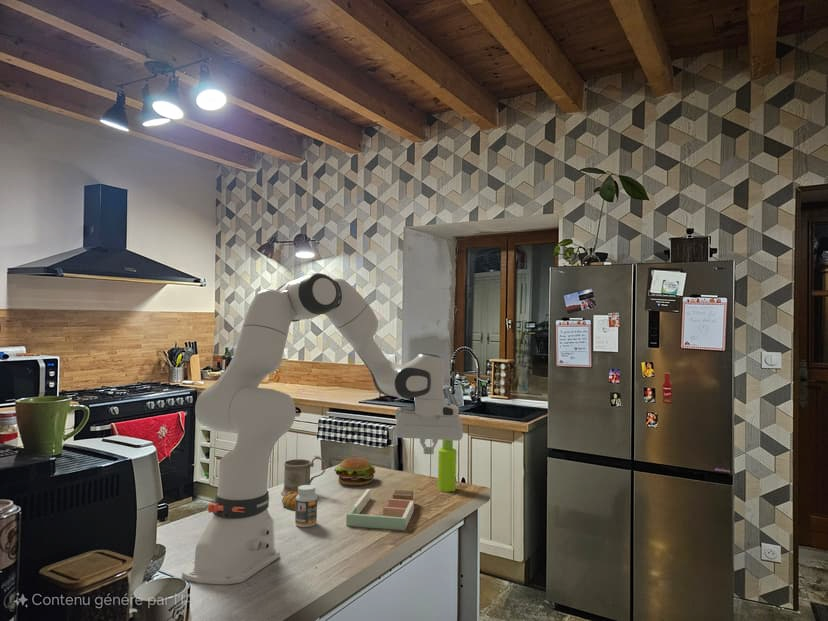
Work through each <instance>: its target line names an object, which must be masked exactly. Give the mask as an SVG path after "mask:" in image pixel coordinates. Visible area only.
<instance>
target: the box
mask: <svg viewBox="0 0 828 621" xmlns="http://www.w3.org/2000/svg"><path fill="white" fill-rule="evenodd" d="M370 500H371V489H370V488H366V490H365V491H364V492H363V494H362V495H361V496H360V497H359V499H358V500H357V501H356V502H355V503H354V505H352V508H350V509H349V511H348V512H347V514H346V518H345V519H346V522H345V523H346V526H347V527H359V528H369V529H370V528H371V529H372V528H373V529H383V530H396V531H405V530H406V528H407V527H408V524H409V523H410V520H411V519H412V515H413V514H414V511H415V499H413V500H402V499H393V498H388V505H387V506H384V507H383V508H382V515H374V514H362V513H361V512H362V510H363V509H364V508H365V507H366V505H367V504H368V503H369V501H370Z"/></svg>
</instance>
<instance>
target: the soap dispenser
mask: <svg viewBox="0 0 828 621" xmlns="http://www.w3.org/2000/svg"><path fill="white" fill-rule="evenodd" d="M453 441H454V440H442V445H441V446H442V447H441V448H438V456H437V458H438V462H437V463H438V465H437V490H438V491H439V492H442V491H444V493H452V492H451V491H453V492H455V491H456V490H457V489H456V488H457V485H456V484H457V482H456V481H457V479H456V477H457V476H456V475H457V449H456V448H453V445H454V442H453Z"/></svg>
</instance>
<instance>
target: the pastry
mask: <svg viewBox="0 0 828 621" xmlns="http://www.w3.org/2000/svg"><path fill="white" fill-rule="evenodd" d="M297 495H299V493H296V492H293V491H291V492H288V493H287V494H285V496H283V497H282V499H281V503H282V505H283V507H285V508H287V509H290V510H291V511H293V510H294V511H295V510H296V497H297Z"/></svg>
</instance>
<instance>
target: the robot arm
mask: <svg viewBox="0 0 828 621" xmlns="http://www.w3.org/2000/svg"><path fill="white" fill-rule="evenodd" d="M320 315H325V316H326V318H328V319H329V320H330V321H331V323H332V324H333V326H334V327H335V328H336V329H337V331H338V332H339V333H340V334H341V335H342V337H344V338H345V339H346V341H347V342H348V343H349V344H350V346H351V347H352V348H353V350H354V351H355V353H356V354H357V355H358V357H359V358H360V359H361V360H362V362H363V364H364V365H365V366H366V368H367V369H368V371H369V373H370V375H371V377H372V383H373V384H374V387H375V389H376V390H377V392H378V393H380V394H382V395H383V396H391V397H396V398H400V399H404V400H405V399H406V400H409V399H414V406H400V407H398V408H397V409H396V410H395V411H394V412H395V416H394V417H395V420H396V424H395V431H394V432H395V437H397V438H398V439H399V438H401V439H419V443H420V446H422V448H423V455H434V453H435V447H436V446H437V444H438V441H443V440H453V441H456V442H457V441H459V442H460V441H461V440H462V439H463V436H464V432H463V423H462V422H463V421H462V417H461V416H460V415H459V412H460V408H459V406H457V405H455V404H452V403H450V402H446V401H445V394H444V387H445V383H446V382H445V379H446V378H445V377H446V376H445V375H446V374H445V364H444V363H445V362H444V360H443V359H442V357H440V356H439V355H435V354H430V353H425V352H423V353H422V352H421V353H419V354H418V355H417V356H416V357H415V358H413V359H412V360H410V361H408V362H407V363H403V364H398V363H395V362H393V361H391V360H389V359H388V358H387V357H386V356H385V354H384V353H383V351H382V350H381V348H380V347H379V345H378V344H377V342H375V339H374V336H375V334H376V333H377V332H378V331H377V330H378V327H379V320H378V318H377V316H376V315H377V314H376V313H375V311H374V310H373V308H371V306H370V304H369V303H368V302H367V301H366V300H365V299H364V297H363V296H362V295H361V293H359V292H358V291H357V289H355V287H354V286H352V285H351V284H350V283H349V282H348V281H346V280H345V279H343V278H334V279H333V277H330V276H329V275H327V274H324V273H320V272H318V273H317V272H316V273H310V274H307V275H304V276H301V277H298V278H297V277H296V278H295V279H293V280H290V281H289V282H287V283H284V284H283V285H281V286H280V287H278V288H277V289H272V288H270V289H269V288H268V289H262V290H260V291H259V292H257V293H256V294H255V296H254V297H253V299H252V301H251V303H250V305H249V307H248V310H247V313H246V315H245V317H244V321H243V324H242V328H241V331H240V333H239V334H240V335H239V337H238V341H237V344H236V348H235V352H234V354H233V356H232V357H231V361H230V362H229V364H228V366H227V367H226V369H225V370H224V372H222V374H221V375H220V377H219V378H218V379H217V380H216V381H215V382H213V384H211V385H209V387H207V388H205V389H203V391H202V392H200V393H199V395H198V397H197V399H196V402H195V406H194V413H195V417H196V420H197V422H198V423H199V424H200V425H202V426H204V427H205V428H208V429H210V430H214V431H217V432H223V433H232V434H237V440H236V443H235V446H234V449H232V450H230V451H228V452H227V453H226V454H224V455H223V456H222V457H221V458H220V460H219V463H218V471H217V472H218V475H217V493H216V495H215V497H214V498H215V499H214V501H213V502H210V503H209V504H208V507H207V511H208V513H211V514H212V516H211V518H210V520H209V521H208V523H207V525H206V527H205V528H204V530H203V532H202V534H201V536H200V538H199V540H198V542H197V543H196V546H195V553H194V557H193V559H192V560H191V561H190V563H188V564H187V565H186V567H185V568H184V569H183V571H182V572H181V573H182V574H181V577H182V578H183V579H185V580H187V581H189V582H190V581H191V582H195V583H199V584H209V585H211V584H212V585H232V584H238V583H239V584H240V583H243V582H245V581H246V580H248V579H250V577H252V576H254V575H255V574H256V573H258V572H259V571H261V570H262V569H264V568H265V567H267V566H268V565H270V564H272V563H273V562H274V561H275V560H277V559H278V558H280V557H281V553H280V551H279V550H278V549H277V548H276V547H275V526H274V518H272V516H271V515H270V513H269V510H268V508H269V506H270V505H269V503H270V502H269V501H270V496H269V494H270V492H269V491H268V474H269V462H270V458H271V453H272V451H273V449H274V447H275V445H276V443H277V441H278V440H279V439H280V438H281V437H282V436H283V435H285V434H286V433H288V432H289V431H290V430H291V428H292V426H293V425H294V422H295V419H296V412H297V410H296V405H295V401H294V400H293V398H292V396H291V395H289V394H288V393H285V392H283V391H280V390H276V389H273V388H266V387H264V388H263V387H259V386H260V384H261V382H263V380H264V379H266V377H268V376H270V375H272V374H273V373H275V372H276V371H277V370H278V369H279V368H280V366H281V364H282V360H283V357H284V356H283V355H284V352H285V349H286V348H285V347H286V344H287V338H288V335H289V330H290V326H291V323H292V322H293V323H294V322H299V321H303V320H310V319H314V318H316V317H318V316H320ZM426 440H432V441H431V442H432V444H433V445H432V446H427V445H426V443H425V442H426Z"/></svg>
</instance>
